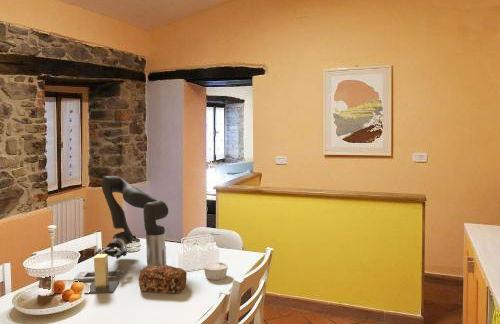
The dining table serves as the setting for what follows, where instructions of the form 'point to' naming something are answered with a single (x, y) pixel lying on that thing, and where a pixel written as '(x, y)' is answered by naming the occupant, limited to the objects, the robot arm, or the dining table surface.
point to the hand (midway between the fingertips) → (107, 257)
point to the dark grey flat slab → (83, 275)
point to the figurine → (45, 283)
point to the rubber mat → (109, 289)
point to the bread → (162, 279)
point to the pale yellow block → (101, 271)
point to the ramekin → (215, 270)
